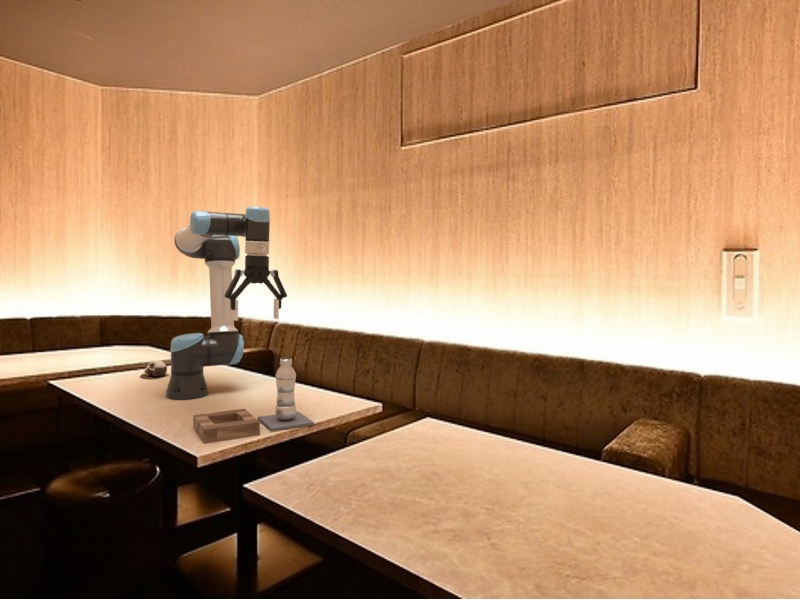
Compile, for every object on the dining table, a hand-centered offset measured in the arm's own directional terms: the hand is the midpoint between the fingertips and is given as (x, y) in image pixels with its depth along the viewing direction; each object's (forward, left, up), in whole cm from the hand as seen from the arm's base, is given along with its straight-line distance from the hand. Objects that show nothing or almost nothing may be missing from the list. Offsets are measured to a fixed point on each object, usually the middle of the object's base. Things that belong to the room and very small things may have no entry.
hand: (256, 319), depth 176 cm
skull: (-81, -20, -34) cm, 90 cm away
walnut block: (+10, -12, -33) cm, 37 cm away
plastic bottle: (+10, +7, -32) cm, 34 cm away
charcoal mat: (+10, +7, -33) cm, 35 cm away
